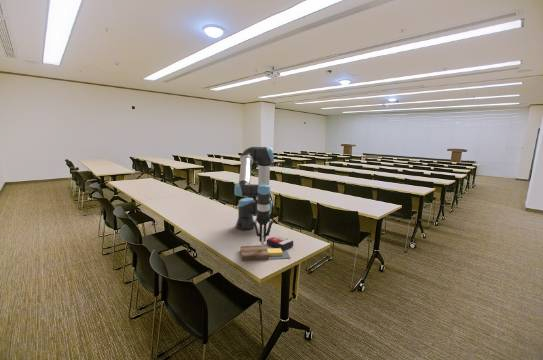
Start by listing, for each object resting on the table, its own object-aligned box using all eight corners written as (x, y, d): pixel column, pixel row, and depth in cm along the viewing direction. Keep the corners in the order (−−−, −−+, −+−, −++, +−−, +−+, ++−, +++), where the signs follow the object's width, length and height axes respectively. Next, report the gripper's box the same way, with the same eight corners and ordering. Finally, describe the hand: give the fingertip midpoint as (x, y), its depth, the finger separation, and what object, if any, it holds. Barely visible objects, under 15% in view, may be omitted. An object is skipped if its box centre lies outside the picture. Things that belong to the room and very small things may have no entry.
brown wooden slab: (240, 250, 164) (240, 246, 163) (265, 249, 167) (265, 245, 166) (242, 261, 150) (242, 256, 150) (268, 259, 153) (269, 254, 153)
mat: (265, 249, 167) (265, 248, 167) (285, 248, 170) (285, 247, 169) (269, 259, 154) (269, 259, 153) (290, 258, 156) (290, 257, 156)
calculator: (277, 234, 182) (293, 239, 172) (277, 240, 183) (293, 245, 172) (266, 238, 175) (282, 244, 164) (266, 244, 175) (282, 250, 165)
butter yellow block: (266, 251, 163) (266, 248, 163) (280, 251, 164) (280, 248, 164) (268, 256, 157) (268, 253, 157) (282, 255, 159) (282, 252, 158)
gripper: (253, 212, 150) (252, 249, 154) (275, 211, 152) (273, 248, 157) (251, 208, 157) (251, 244, 161) (272, 207, 159) (271, 243, 164)
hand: (262, 246), depth 159 cm, fingers closed
